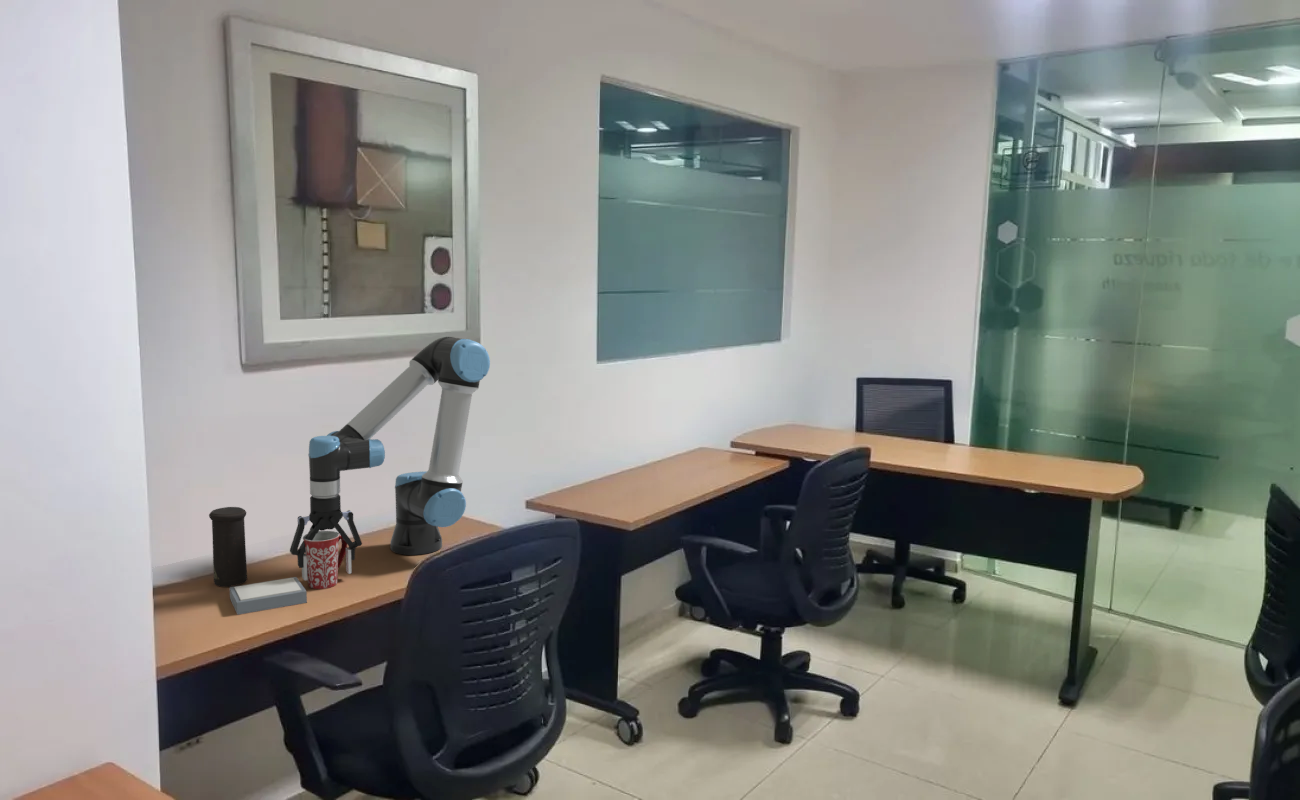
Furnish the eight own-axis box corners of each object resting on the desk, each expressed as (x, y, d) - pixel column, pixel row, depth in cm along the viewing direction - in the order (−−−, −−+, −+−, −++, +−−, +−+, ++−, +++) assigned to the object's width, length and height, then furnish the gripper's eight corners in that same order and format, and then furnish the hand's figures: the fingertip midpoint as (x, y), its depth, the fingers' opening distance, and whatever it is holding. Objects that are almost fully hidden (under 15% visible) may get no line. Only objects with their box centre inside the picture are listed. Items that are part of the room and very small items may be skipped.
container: (235, 573, 242) (232, 502, 239) (256, 580, 237) (253, 507, 234) (205, 583, 234) (201, 509, 231) (226, 590, 230) (222, 515, 227)
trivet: (296, 587, 233) (296, 575, 232) (306, 602, 223) (306, 590, 222) (230, 598, 224) (229, 586, 223) (237, 614, 214) (236, 601, 213)
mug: (320, 593, 229) (318, 542, 227) (297, 586, 234) (295, 536, 232) (358, 579, 240) (357, 531, 238) (335, 572, 244) (334, 525, 243)
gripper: (365, 487, 243) (367, 564, 246) (275, 496, 230) (278, 578, 233) (373, 493, 236) (374, 572, 240) (281, 503, 224) (283, 586, 227)
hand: (327, 575), depth 236 cm, fingers closed on mug, 11 cm apart
